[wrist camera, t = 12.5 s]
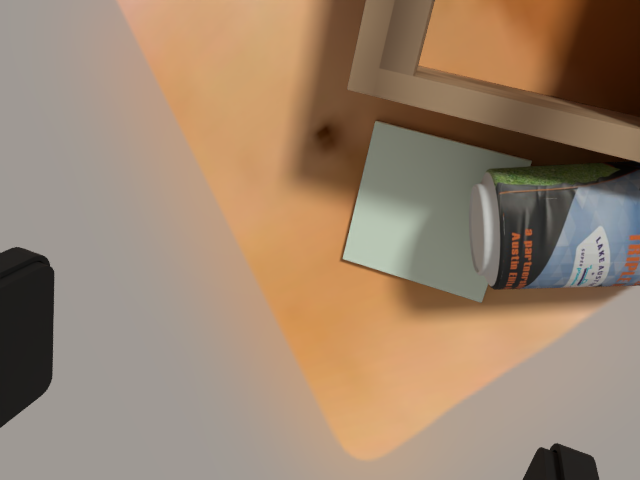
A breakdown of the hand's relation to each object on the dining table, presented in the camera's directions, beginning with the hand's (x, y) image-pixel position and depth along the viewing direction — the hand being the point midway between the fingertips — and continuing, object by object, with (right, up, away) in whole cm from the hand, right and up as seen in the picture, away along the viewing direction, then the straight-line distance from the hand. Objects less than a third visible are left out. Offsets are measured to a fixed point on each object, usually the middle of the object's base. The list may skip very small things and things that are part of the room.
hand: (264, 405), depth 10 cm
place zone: (+8, +5, +23) cm, 25 cm away
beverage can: (+9, +4, +19) cm, 21 cm away
